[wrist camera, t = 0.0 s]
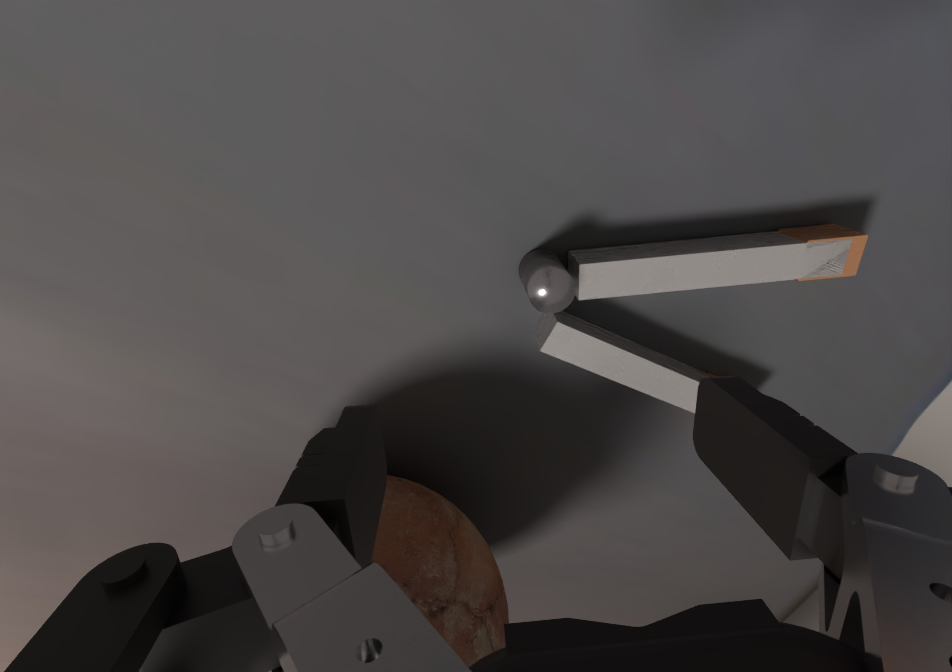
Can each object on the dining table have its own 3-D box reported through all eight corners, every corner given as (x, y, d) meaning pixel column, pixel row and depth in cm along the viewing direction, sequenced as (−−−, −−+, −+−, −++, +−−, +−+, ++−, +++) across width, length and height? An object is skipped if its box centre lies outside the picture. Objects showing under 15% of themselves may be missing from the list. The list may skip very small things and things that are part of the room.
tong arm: (567, 286, 34) (578, 302, 31) (568, 248, 33) (579, 262, 30) (823, 261, 34) (855, 275, 32) (834, 223, 33) (868, 234, 30)
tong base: (491, 316, 35) (497, 344, 31) (531, 241, 32) (543, 262, 29) (721, 411, 41) (751, 445, 37) (770, 353, 38) (807, 383, 34)
